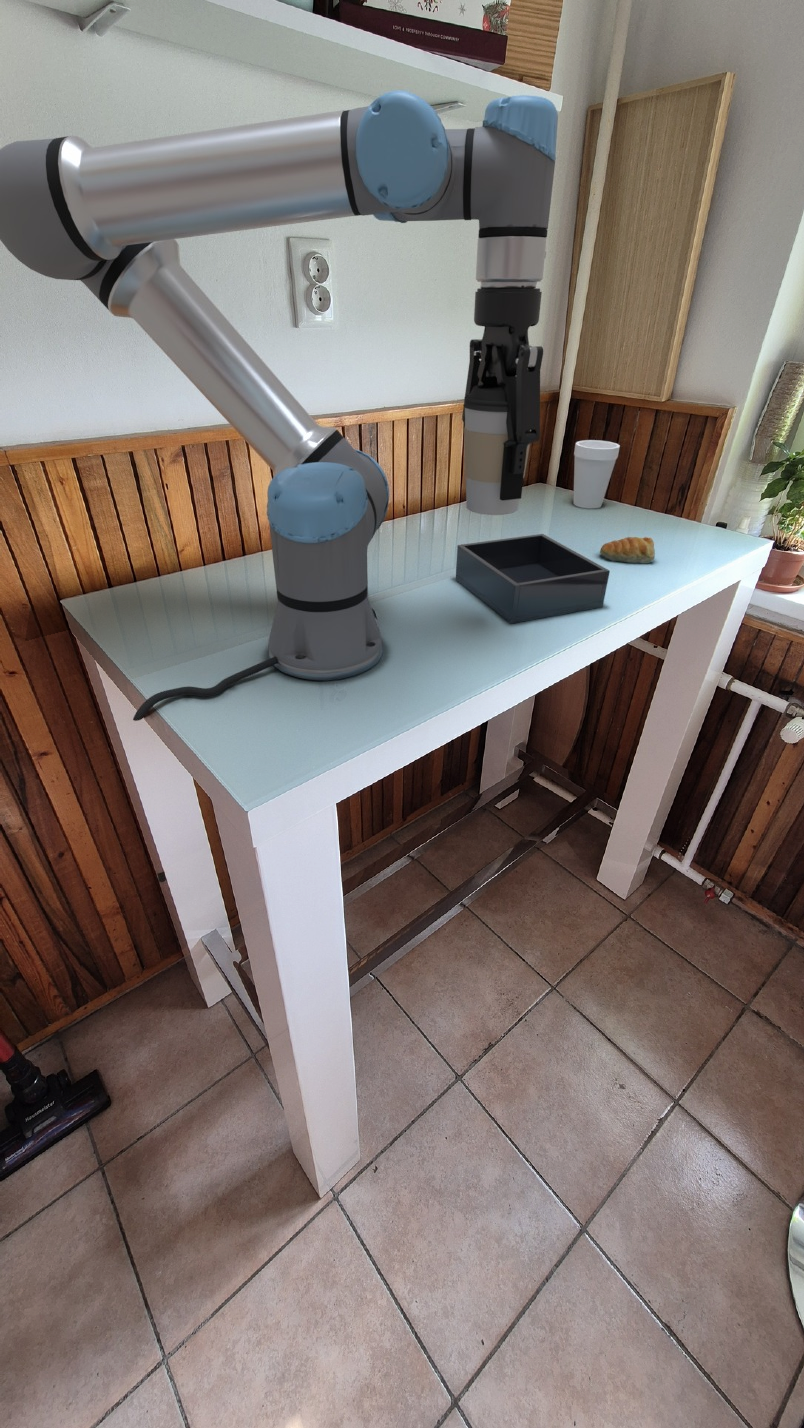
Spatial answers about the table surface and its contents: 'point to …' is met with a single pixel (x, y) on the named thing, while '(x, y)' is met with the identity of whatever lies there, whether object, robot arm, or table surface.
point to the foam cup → (593, 471)
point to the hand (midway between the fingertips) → (493, 489)
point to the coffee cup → (486, 451)
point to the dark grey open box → (530, 577)
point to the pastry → (630, 550)
